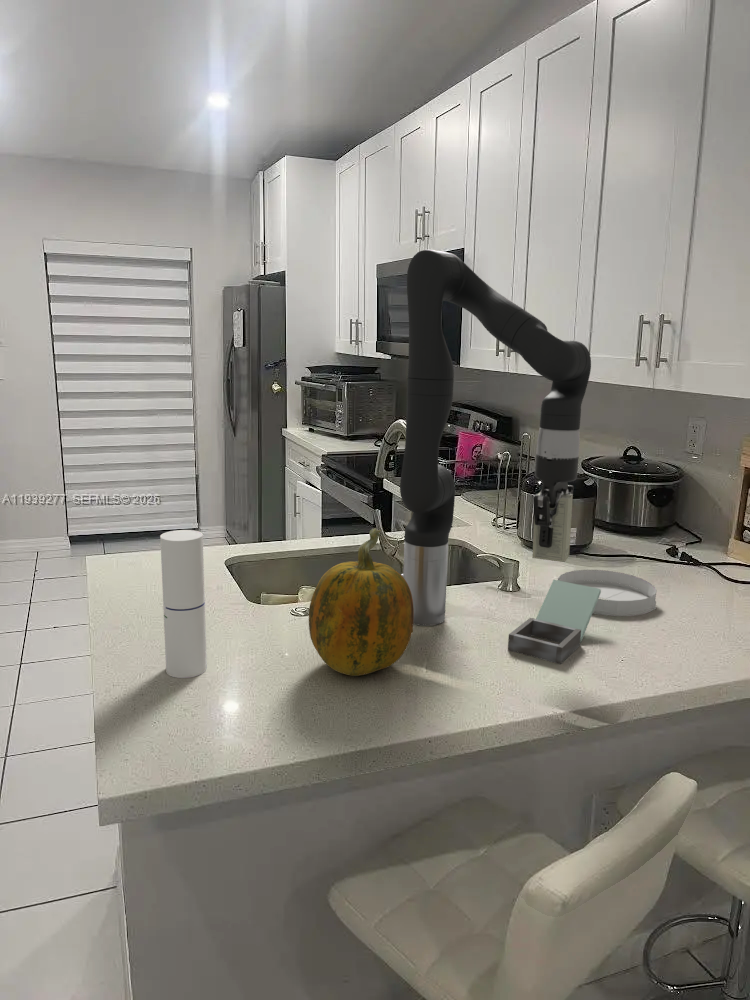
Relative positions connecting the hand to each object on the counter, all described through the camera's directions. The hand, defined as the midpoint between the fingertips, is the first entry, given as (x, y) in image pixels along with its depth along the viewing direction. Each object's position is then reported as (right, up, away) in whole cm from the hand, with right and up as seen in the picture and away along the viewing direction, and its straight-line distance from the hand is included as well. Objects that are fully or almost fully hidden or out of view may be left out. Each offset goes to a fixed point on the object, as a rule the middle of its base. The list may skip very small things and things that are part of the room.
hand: (550, 543), depth 140 cm
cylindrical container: (-67, -23, -4) cm, 71 cm away
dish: (+20, -16, +33) cm, 42 cm away
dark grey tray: (+3, -21, +10) cm, 23 cm away
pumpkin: (-35, -23, -2) cm, 42 cm away
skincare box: (0, -3, +1) cm, 3 cm away
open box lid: (+7, -15, +14) cm, 21 cm away
